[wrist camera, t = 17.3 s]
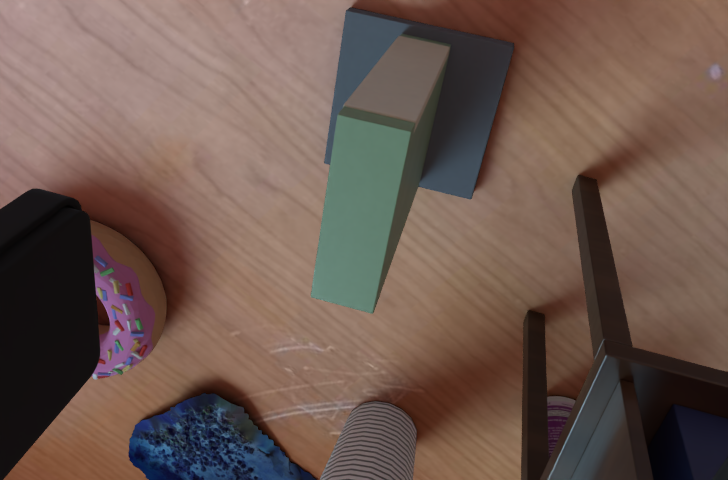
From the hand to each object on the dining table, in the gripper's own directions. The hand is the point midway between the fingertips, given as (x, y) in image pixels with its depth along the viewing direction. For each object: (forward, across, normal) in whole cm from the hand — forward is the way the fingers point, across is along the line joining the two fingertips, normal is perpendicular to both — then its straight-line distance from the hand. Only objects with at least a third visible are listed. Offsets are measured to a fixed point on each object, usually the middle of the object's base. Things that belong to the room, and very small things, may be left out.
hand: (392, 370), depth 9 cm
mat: (+33, +3, +8) cm, 34 cm away
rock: (+32, +13, +46) cm, 58 cm away
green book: (+32, +3, +8) cm, 33 cm away
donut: (+32, +26, +30) cm, 51 cm away
